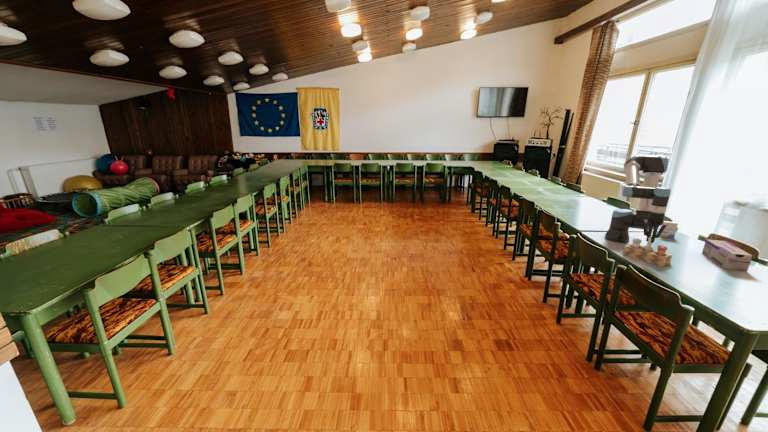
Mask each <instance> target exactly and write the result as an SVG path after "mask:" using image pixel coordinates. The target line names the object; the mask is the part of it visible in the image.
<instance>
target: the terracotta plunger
mask: <svg viewBox="0 0 768 432" xmlns="http://www.w3.org/2000/svg"><path fill="white" fill-rule="evenodd" d="M657 250H658V251H657V254H658V255H661V256H665V253H667V252H666V251H668V247H667V246H666V245H657Z"/></svg>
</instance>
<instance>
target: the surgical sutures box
mask: <svg viewBox="0 0 768 432" xmlns="http://www.w3.org/2000/svg"><path fill="white" fill-rule="evenodd" d="M701 254H702V255H703V256H704V255H705V256H704V257H706V258H707V259H708V258H709V259H708V260H710V261H711V260H712V261H711V262H712V263H714V264H715V263H716V264H715V265H717V266H718V265H719V266H718V267H720V268H721V269H722V270H728V271H735V272H744V273H747V272H748V270H749V267H750V264H751V261H752V259H753V257H754V255H752V254H751V253H748V252H747V251H746V250H743V249H741V248H740V247H738V246H736V245H734V244H733V243H731V242H730V241H727V240H718V239H705V243H704V245H703V248H702V252H701Z"/></svg>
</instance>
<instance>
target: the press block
mask: <svg viewBox="0 0 768 432" xmlns="http://www.w3.org/2000/svg"><path fill="white" fill-rule="evenodd" d="M632 244H633V242H632V243H630V244H627V245H624V249H623V252H622V255H624V256H628V257H631V258H633V257H634V259H636V258H637V260H640V261H644V262H646V261H647V262H646V263H650V264H652V263H653V264H652V265H655V264H656V266H658V265H659V267H661V266H662V267H664V266H667V265H669V264H671V262H672V258H673V254H671V253H668V252H665V256H661V255H658V254H657V251H658V249H654V248H653V250H652V251H651V252H648V251H644V246H645V245H640V246H639V248H638V249H637V248H634V247H632ZM662 267H661V268H662Z"/></svg>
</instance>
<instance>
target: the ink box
mask: <svg viewBox="0 0 768 432" xmlns="http://www.w3.org/2000/svg"><path fill="white" fill-rule="evenodd" d="M663 221H664V223H665V224H666V225H668V226H667V227H666V228H665V229H664V230H663V232H662V234H661V235H660V237H664V238H670V239H671V238H672V239H675V236H676V233H677V229H678V225H679V224H678V223H677V222H676V221H668V220H663ZM661 227H662V224H661V225H660V228H661Z"/></svg>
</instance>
